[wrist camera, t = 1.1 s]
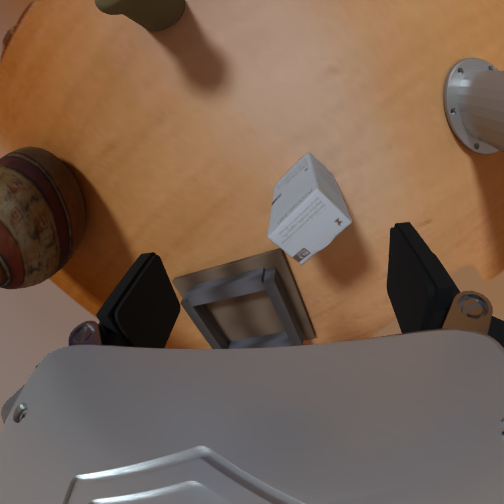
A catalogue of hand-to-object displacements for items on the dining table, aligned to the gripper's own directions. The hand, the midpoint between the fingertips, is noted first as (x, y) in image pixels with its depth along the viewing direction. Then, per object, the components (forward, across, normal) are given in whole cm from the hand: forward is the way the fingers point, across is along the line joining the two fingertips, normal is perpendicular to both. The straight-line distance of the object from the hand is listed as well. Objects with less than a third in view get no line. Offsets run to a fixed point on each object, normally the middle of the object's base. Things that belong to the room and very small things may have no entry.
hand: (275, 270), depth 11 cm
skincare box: (+24, -2, +4) cm, 24 cm away
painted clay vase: (+24, +37, -2) cm, 44 cm away
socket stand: (+24, +9, +22) cm, 34 cm away
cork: (+24, +10, -21) cm, 33 cm away
